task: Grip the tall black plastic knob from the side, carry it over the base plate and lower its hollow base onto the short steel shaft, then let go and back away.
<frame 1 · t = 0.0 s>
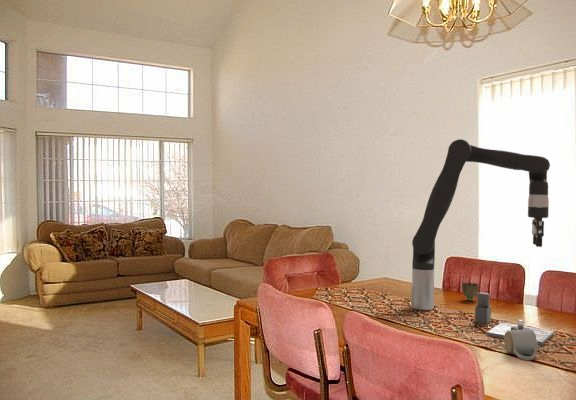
hand: (537, 245, 209), 29 cm above the table, tool pointing down, fingers open, 8 cm apart
ceramic mug: (522, 356, 160), on the table
base plate: (520, 334, 183), on the table
knob: (482, 321, 201), on the table
cup: (469, 300, 241), on the table
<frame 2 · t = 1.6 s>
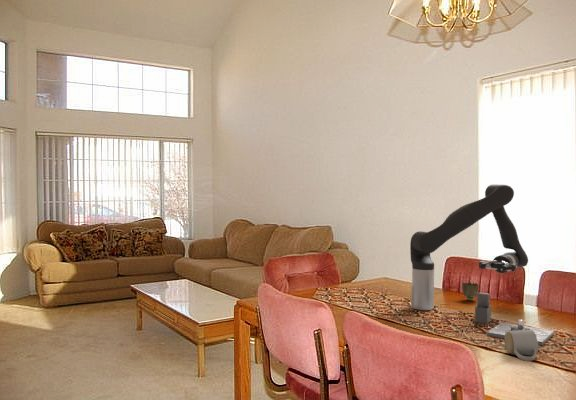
hand: (492, 267, 209), 20 cm above the table, tool horizontal, fingers open, 8 cm apart
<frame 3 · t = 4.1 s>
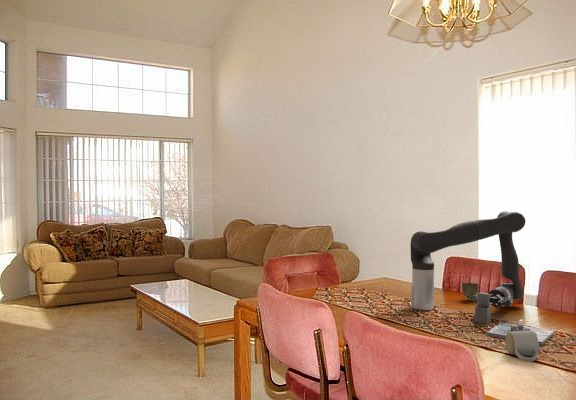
hand: (487, 302, 205), 7 cm above the table, tool horizontal, fingers open, 8 cm apart
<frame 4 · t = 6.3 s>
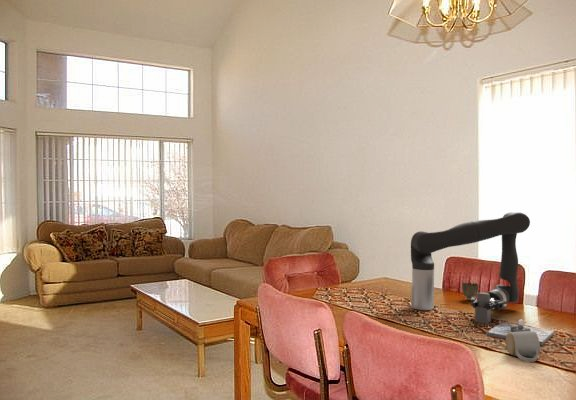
hand: (481, 306, 199), 7 cm above the table, tool horizontal, fingers closed on knob, 4 cm apart
knob: (482, 321, 201), on the table, touching gripper
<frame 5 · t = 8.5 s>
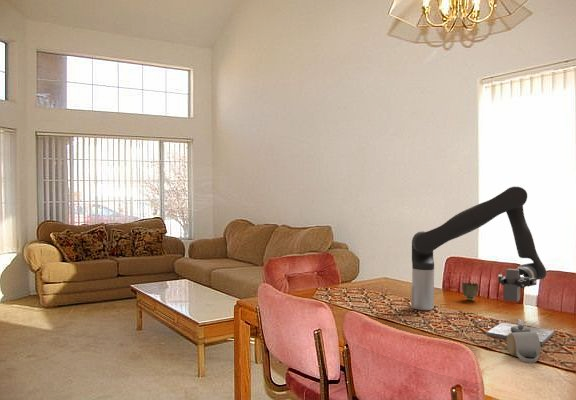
hand: (510, 283, 186), 18 cm above the table, tool horizontal, fingers closed on knob, 4 cm apart
knob: (511, 299, 188), point 11 cm above the table, touching gripper
when the fingers open (10 cm above the table, at t = 11.2 s): knob drops 1 cm, resting on base plate.
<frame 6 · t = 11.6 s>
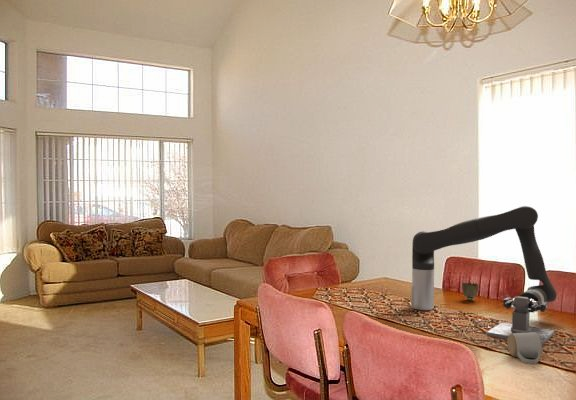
hand: (519, 307, 181), 10 cm above the table, tool horizontal, fingers open, 8 cm apart
knob: (520, 328, 183), point 2 cm above the table, touching base plate
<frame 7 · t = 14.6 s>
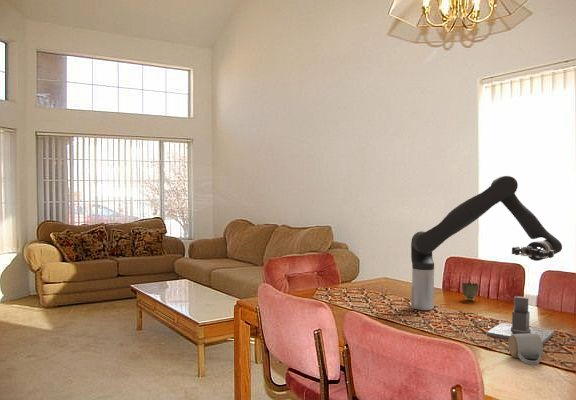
hand: (528, 253, 193), 28 cm above the table, tool horizontal, fingers open, 8 cm apart
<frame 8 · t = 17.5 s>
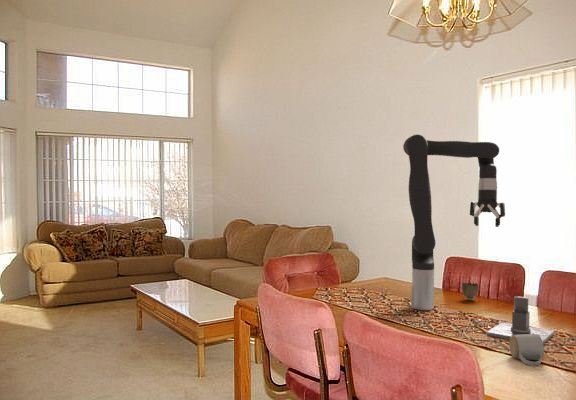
hand: (486, 226, 223), 36 cm above the table, tool pointing down, fingers open, 8 cm apart
at the end: knob 0.1 cm from the base plate (horizontally); knob point 2.2 cm above the table; knob tilted 0° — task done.
